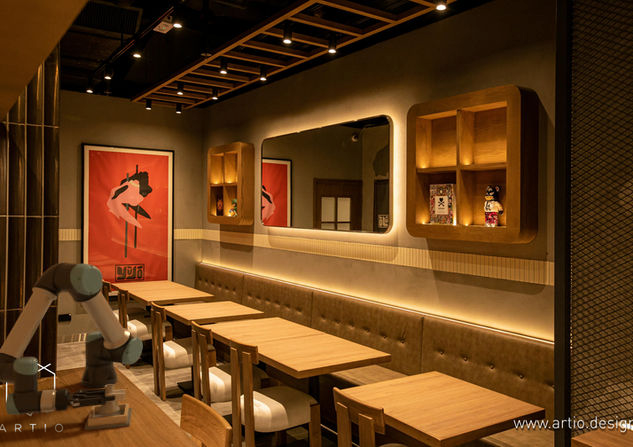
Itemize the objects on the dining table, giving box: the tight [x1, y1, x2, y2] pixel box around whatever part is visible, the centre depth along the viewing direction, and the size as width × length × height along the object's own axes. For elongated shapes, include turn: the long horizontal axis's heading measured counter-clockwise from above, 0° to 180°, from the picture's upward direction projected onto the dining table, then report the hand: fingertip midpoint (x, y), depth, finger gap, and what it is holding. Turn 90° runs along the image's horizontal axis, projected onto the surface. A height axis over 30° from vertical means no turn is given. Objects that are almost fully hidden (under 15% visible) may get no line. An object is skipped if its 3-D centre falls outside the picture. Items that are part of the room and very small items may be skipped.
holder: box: [84, 402, 133, 431], centre depth 194 cm, size 15×15×4 cm
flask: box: [98, 384, 120, 415], centre depth 194 cm, size 7×7×10 cm
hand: (124, 394), depth 195 cm, fingers closed on flask, 3 cm apart
